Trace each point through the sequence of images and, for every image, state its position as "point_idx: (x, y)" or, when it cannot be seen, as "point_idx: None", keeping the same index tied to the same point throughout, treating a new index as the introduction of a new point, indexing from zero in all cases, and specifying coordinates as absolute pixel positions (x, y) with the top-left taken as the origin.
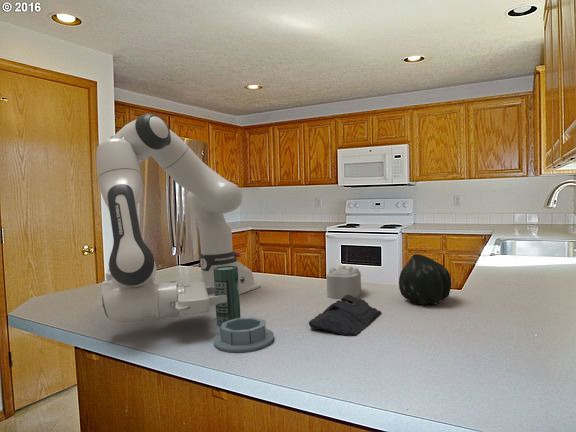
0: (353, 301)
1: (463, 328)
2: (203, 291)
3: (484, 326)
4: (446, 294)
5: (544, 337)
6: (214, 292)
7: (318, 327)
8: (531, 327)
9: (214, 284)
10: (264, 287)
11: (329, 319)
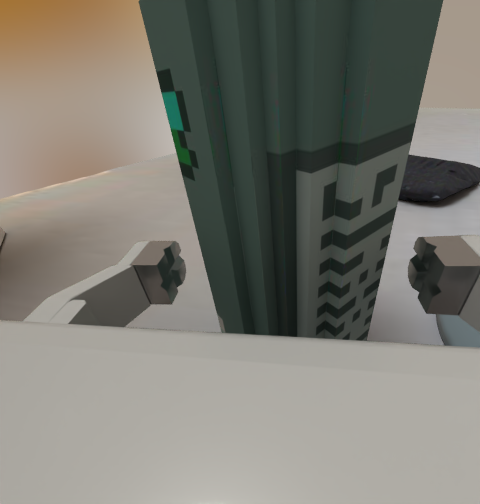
0: None
1: (437, 128)
2: (463, 392)
3: (430, 123)
4: None
5: (472, 112)
6: (132, 308)
7: (460, 190)
8: (436, 114)
9: (260, 221)
10: (19, 228)
11: (458, 163)
